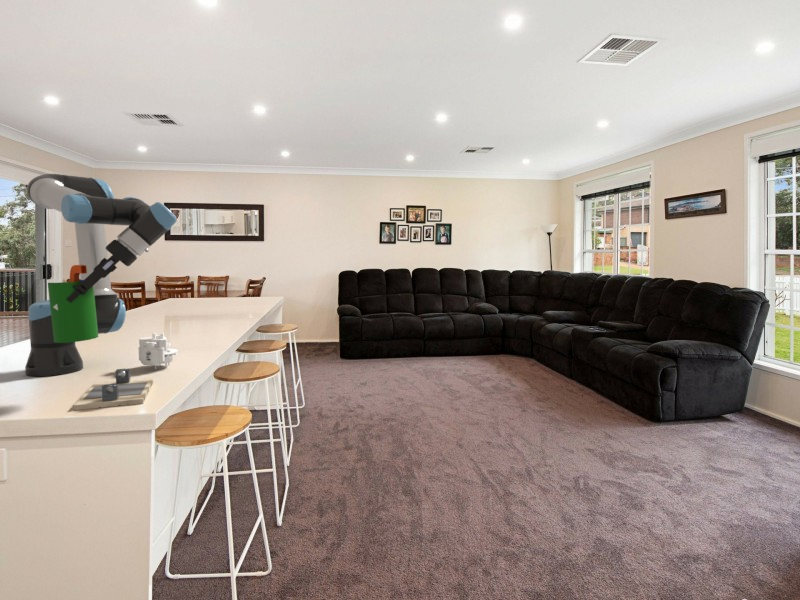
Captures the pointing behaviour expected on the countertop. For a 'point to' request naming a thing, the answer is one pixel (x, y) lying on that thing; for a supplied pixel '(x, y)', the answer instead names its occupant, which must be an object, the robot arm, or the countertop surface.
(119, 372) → the grey block with stub
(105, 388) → the knobbed dark grey block
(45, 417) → the countertop surface
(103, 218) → the robot arm
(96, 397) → the mount plate
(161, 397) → the countertop surface
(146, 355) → the mechanical part
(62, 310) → the green plastic cylinder
